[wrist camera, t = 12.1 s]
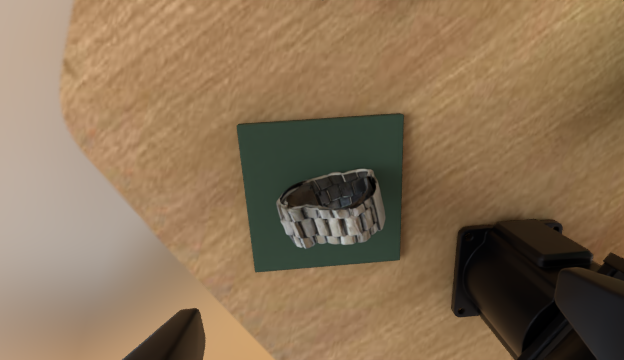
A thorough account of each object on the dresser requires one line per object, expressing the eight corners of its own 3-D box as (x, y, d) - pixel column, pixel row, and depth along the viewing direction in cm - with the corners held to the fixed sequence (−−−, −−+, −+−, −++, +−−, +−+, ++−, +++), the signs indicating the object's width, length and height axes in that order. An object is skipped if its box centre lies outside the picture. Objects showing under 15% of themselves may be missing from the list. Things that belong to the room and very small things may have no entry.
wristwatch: (320, 162, 20) (263, 205, 16) (401, 166, 16) (351, 222, 13) (331, 205, 21) (280, 254, 17) (409, 217, 18) (364, 280, 14)
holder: (397, 255, 21) (400, 260, 20) (256, 267, 21) (255, 272, 20) (400, 113, 18) (404, 114, 18) (238, 123, 18) (236, 125, 17)
